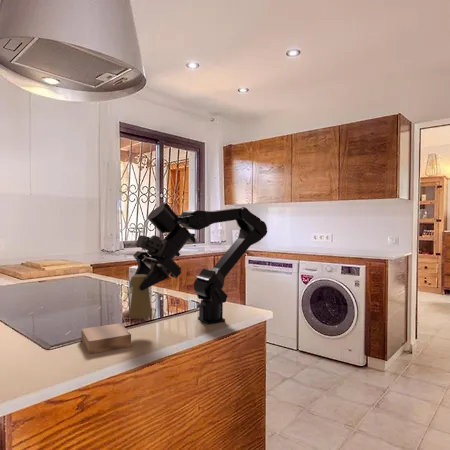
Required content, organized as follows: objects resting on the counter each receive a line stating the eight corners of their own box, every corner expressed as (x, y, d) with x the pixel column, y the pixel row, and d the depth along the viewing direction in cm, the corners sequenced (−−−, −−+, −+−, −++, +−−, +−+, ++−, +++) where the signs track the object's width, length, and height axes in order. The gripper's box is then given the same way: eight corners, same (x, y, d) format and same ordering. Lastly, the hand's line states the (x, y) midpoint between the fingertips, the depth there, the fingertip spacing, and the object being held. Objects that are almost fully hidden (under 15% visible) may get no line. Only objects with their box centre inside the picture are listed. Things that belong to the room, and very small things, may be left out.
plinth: (120, 334, 97) (120, 323, 97) (131, 346, 88) (131, 334, 88) (81, 340, 92) (81, 328, 92) (88, 353, 83) (88, 341, 83)
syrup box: (152, 307, 124) (152, 266, 124) (139, 311, 119) (140, 268, 119) (140, 304, 127) (140, 264, 127) (128, 308, 122) (128, 266, 122)
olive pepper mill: (153, 317, 94) (153, 276, 94) (130, 319, 92) (130, 277, 91) (150, 310, 100) (150, 272, 99) (128, 312, 98) (128, 273, 97)
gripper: (139, 223, 105) (102, 264, 98) (170, 226, 90) (129, 274, 84) (163, 248, 110) (129, 288, 103) (196, 254, 95) (159, 301, 89)
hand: (135, 287), depth 95 cm, fingers closed on olive pepper mill, 5 cm apart
